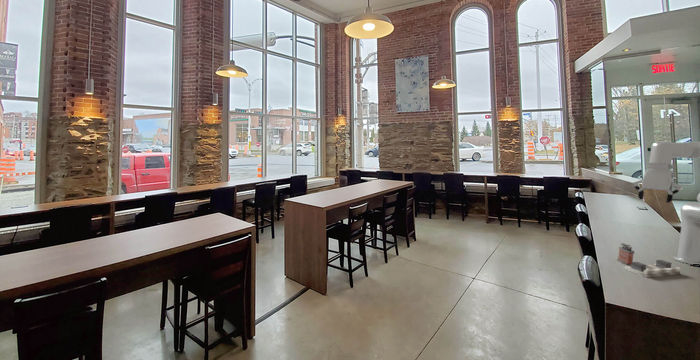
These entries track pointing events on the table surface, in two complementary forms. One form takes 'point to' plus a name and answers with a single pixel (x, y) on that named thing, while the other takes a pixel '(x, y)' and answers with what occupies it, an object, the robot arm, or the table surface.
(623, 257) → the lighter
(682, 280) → the table surface
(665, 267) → the white base plate
